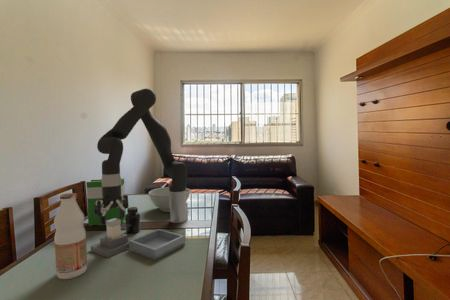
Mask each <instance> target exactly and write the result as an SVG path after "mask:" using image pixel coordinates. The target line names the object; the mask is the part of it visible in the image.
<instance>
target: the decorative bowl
mask: <svg viewBox="0 0 450 300" xmlns="http://www.w3.org/2000/svg"><path fill="white" fill-rule="evenodd" d="M190 195H191V189H190V188H188V187H186V202H187V201H188V199H189V197H190ZM148 197H149V199H150V201H151V202H152V204H153V205H154V206H155V207H156V208H157V209H160V211H161V212H164V213H165V212H166V213H170V199H169V186H166V187H160V188H159V187H158V188H154V189H151V190H150V191H148Z"/></svg>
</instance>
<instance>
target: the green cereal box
mask: <svg viewBox="0 0 450 300" xmlns="http://www.w3.org/2000/svg"><path fill="white" fill-rule="evenodd" d="M85 183H86V203H87V220H88V223H87V224H88V227H93V226H92V225H99V226H103V225H102V224H101V223H100V216H97V215H95V214H94V211H95V201H96V200H97V201H100V200H102V199H103V197H102V178H101V179H91V180H90V181H86V182H85ZM125 186H126V185H125V178H121V196H122V195H126V190H125V189H126V188H125ZM120 203H121V204H122V205H123V201H122V199H121V201H120ZM102 206H103V203H102V205H101V208H102ZM105 208H106V207H105ZM126 209H127V208H126ZM126 209H125V211H124V212H125V216H126V214H127V211H126ZM119 210H120V209H119V208H118V207H113V208H111V209H109V210H108V211H107V212H106V214H105V215H104V216H105V225H104V226H106V221H107V220H110V219H114V218H116V219H120V218H119ZM120 220H121V224H120V225H123V224H124V223H125V222H126V219H125V217H124V219H120ZM124 221H125V222H124Z"/></svg>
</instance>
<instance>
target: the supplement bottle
mask: <svg viewBox="0 0 450 300" xmlns="http://www.w3.org/2000/svg"><path fill="white" fill-rule="evenodd" d="M126 209H127V211H126V216H125V219H126V220H125V234H127V235H129V234H130V235H132V234H137V233H140V231H141V215H140V213H139V212H138V211H139V209H138V207H137V206H130V207H128V208H126Z"/></svg>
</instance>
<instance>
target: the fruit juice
mask: <svg viewBox="0 0 450 300" xmlns="http://www.w3.org/2000/svg"><path fill="white" fill-rule="evenodd" d="M59 199H60V205H59V208H58V211H57V213H56V215H55V217H54V220H53V225H54V228H55V232H54V240H53V241H54V253H55V254H54V255H55V256H54V257H55V271H56V272H55V273H56V277H57V278H58V279H59V280H70V279H75V278H77V277H79V276H82V275H83V274H84V273H85V272H87V270H88V253H87V235H86V233H87V232H86V228H85V226H84V224H85V223H84V222H85V220H86V219H85V214H84V212H83V211H82V209H81V208H80V206H79V204H78V202H77V200H76V199H77V193H76V192H75V193H73V192H69V193H68V192H67V193H62V194H60V195H59Z"/></svg>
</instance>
